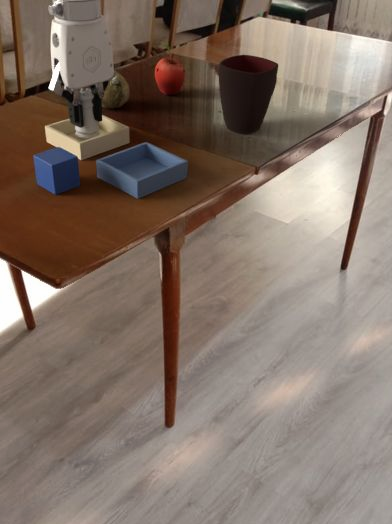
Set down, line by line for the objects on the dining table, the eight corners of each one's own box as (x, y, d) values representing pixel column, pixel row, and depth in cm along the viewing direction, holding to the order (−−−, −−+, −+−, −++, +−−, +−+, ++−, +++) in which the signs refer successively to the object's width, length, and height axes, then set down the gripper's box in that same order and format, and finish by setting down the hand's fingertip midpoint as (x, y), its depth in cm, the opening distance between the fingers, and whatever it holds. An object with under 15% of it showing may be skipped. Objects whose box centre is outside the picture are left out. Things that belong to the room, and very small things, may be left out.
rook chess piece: (70, 136, 113) (65, 91, 108) (86, 128, 116) (83, 84, 111) (88, 142, 112) (85, 97, 106) (105, 134, 115) (102, 90, 109)
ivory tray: (81, 160, 109) (79, 143, 107) (46, 142, 114) (44, 125, 112) (129, 143, 116) (129, 127, 114) (94, 126, 121) (93, 110, 119)
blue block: (55, 195, 100) (51, 165, 96) (37, 184, 102) (32, 155, 99) (80, 185, 102) (77, 156, 99) (62, 175, 105) (58, 146, 102)
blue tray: (137, 199, 100) (137, 181, 98) (97, 177, 105) (95, 160, 103) (187, 177, 106) (187, 160, 104) (146, 158, 111) (146, 141, 109)
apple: (191, 91, 137) (192, 42, 130) (177, 101, 132) (178, 51, 126) (159, 85, 139) (159, 37, 133) (145, 95, 134) (144, 45, 128)
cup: (207, 128, 122) (211, 63, 114) (247, 109, 130) (253, 47, 123) (249, 142, 118) (256, 76, 110) (288, 122, 126) (297, 59, 118)
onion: (139, 105, 130) (138, 64, 125) (114, 116, 125) (112, 74, 120) (111, 96, 133) (108, 56, 128) (85, 107, 128) (82, 66, 123)
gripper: (48, 22, 94) (61, 141, 106) (131, 6, 103) (134, 117, 115) (20, 12, 98) (35, 127, 110) (102, -3, 107) (108, 105, 119)
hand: (86, 121), depth 112 cm, fingers closed on rook chess piece, 3 cm apart
